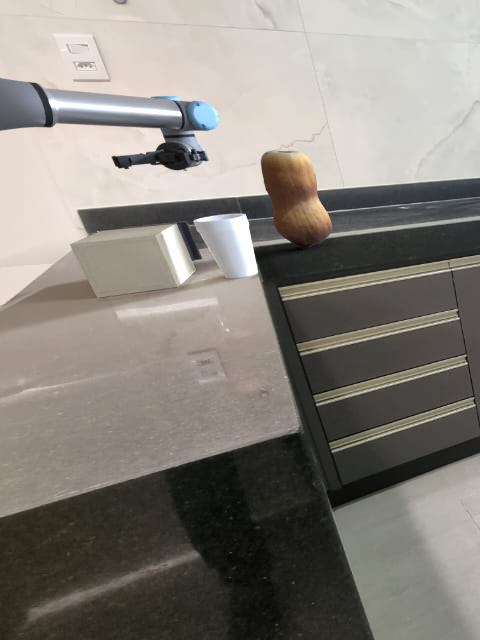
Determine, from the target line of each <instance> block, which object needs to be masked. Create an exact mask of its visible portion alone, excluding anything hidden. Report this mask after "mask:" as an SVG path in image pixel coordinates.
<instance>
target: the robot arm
mask: <svg viewBox="0 0 480 640" xmlns="http://www.w3.org/2000/svg"><path fill="white" fill-rule="evenodd" d="M57 124H60V125H63V124H64V125H80V126H97V127H98V126H99V127H100V126H102V127H104V126H105V127H120V128H121V127H122V128H123V127H124V128H139V129H140V128H141V129H160V132H161V134H162V137H163V139H164V142H162V143H160V144H159V145H157V147H156V149H155V150H154V151H146V152H145V153H142V152H140V153H135V154H124V155H112V156H111V160H112V162H113V164H114V166H115V167H117V169H124V170H130V167H133V166H142V165H151V166H163V167H165V168H166V169H168V170H171V171H184V172H187V171H188V169H190V168H194V167H198V166H200V165H201V164H203V162H209V161H210V159H209V157H208V154H207V151H206V150H205V149H204V147H202V146H201V145H200V144H199V142H198V140H197V137H196V134H195V132H209V131H212V130H215V129H216V128H217V127H218V126H219V124H220V117H219V113H218V111H217V110H216V109H215V107H213V106H212V105H211V104H209V103H208V102H205V101H199V100H192V101H188V100H182V99H181V98H180V97H179V96H177V95H159V96H156V95H155V96H150V97H144V96H134V95H123V94H113V93H101V92H92V91H91V92H90V91H78V90H67V89H58V88H57V89H56V88H46V87H44V86H43V85H42V84H40V83H38V82H32V81H23V80H17V79H16V80H15V79H9V78H2V77H0V132H1V131H8V130H16V129H27V128H49V129H51V128H53V127H54V126H55V125H57Z"/></svg>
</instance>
